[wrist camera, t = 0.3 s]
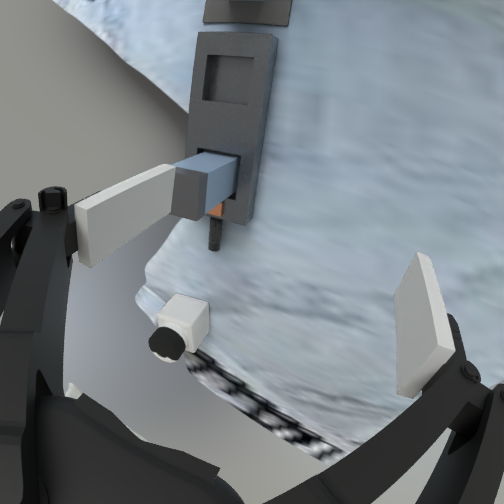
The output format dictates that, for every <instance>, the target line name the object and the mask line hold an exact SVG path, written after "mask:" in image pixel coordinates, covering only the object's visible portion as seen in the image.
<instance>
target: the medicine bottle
mask: <svg viewBox="0 0 504 504" xmlns="http://www.w3.org/2000/svg"><path fill="white" fill-rule="evenodd" d="M157 319H158V325H159V328H158V329H157V330H156V331H155V332H154V333H153V335H152V336H151V337H150V338H149V347H150V349H151V351H152V352H153V353H154V354H155V355H156V356H157V357H158V358H159V359H161V360H163V361H165V362H170V363H171V362H176V361H177V360H178V359H179V358H180V356H181V355H182V353H183V352H184V351H185V350H186V351H189V352H192V353H195V351H196V350H197V348H198V347H199V345H200V344H201V343H202V341H203V340H204V338H205V337H206V335H207V334H208V332H209V331H210V320H209V303H208V302H206V301H202V300H199V299H195V298H192V297H188V296H185V295H181V294H178V293H176V294H174V296H173V297H172V298H171V299H170V300H169V301H168V302H167V303H166V304H165V305H164V306H163V308H162V309H161V310H160V311H159V312H158V313H157Z"/></svg>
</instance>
